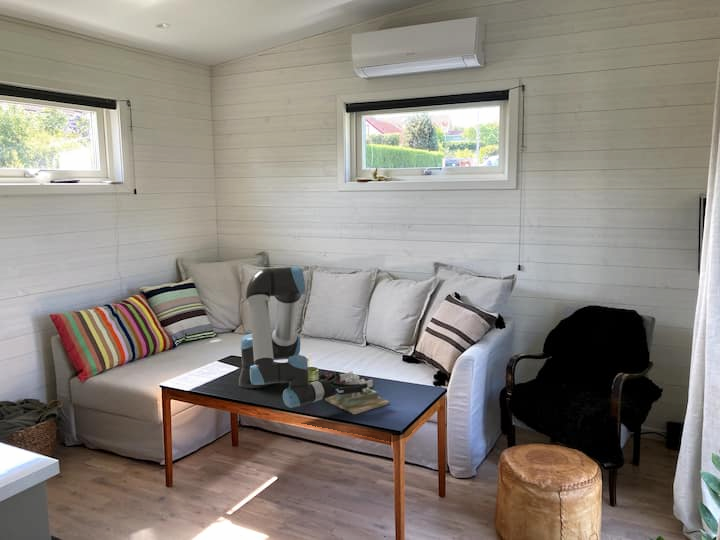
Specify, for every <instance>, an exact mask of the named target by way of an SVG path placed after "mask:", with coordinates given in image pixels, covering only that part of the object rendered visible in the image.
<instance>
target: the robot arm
mask: <svg viewBox="0 0 720 540" xmlns="http://www.w3.org/2000/svg"><path fill="white" fill-rule="evenodd" d="M305 280H306V279H305V275H304V271H303V269H302V267H299V266H287V267H285V266H284V267H271V268H270V267H267V268H262V269H260V270H258V271H257V272H256V273H255V274H254V275H253V276H252V277H251V279H249V282H248V284H247V287H246V291H245V300H246V303H247V304H248V305H249V315H250V316H249V318H250V319H249V320H250V329H251V333H247V334H246V335H244V336H243V337H242V338H241V339H240V351H241V371H240V375H239V376H238V377H239V378H238V386H239V387H241V388H243V389H248V388H249V389H250V388H251V389H252V390H253V388H254V389H255V388H256V389H263V388H266V387H268V385H269V386H270V385H272V384H277V383H278V384H279V383H280V384H281V383H288V387H287V388H285V389H284V390H283V392H282V400H283V402H284V405H285V406H287V408H296V407H301V406H304V405H307V404H311V403H316V402H317V401H321V400H326V398H329V397H331V396H333V394H334V393H335V394H337V393H338V394H339V395H341V394H348V393H361V392H362V389H365V388H369V389H370V388H373V379H368V380H369V381H365V382H361V383H359V384H344V383H338V381H339V380H340V381H344V380H346V378H348V377H349V378H350V379H351V377H352V376H351V375H349V373H353V374H354V372H353V371H349V373H348V372H346V373H341V374H339V372H336V373H334V374H332V375H331V376H329V377H327V378H326V379H323V380H320V379H319V380H316V381H312V382H309V370H308V369H309V367H308V358H307V357H306V355H305V356H304V355H302V354H300V352H301V336H300V335H299V333H298V332H296V317H297V306H298V302H299V301H300V299H301V297H302V295H305V294H306V293H307V289H306V288H307V287H306V281H305ZM271 297H274V298H275V300H276V313H275V314H276V316H275V329H274V330H273V331H272V329H271V320H270V308H269V302H270V301H271ZM283 360H287V361H286V362H277V363H275V361H283ZM341 385H342V387H341ZM262 387H263V388H262ZM251 389H250V390H251ZM256 389H255V390H256Z"/></svg>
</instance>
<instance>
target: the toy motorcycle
mask: <svg viewBox="0 0 720 540" xmlns="http://www.w3.org/2000/svg"><path fill="white" fill-rule="evenodd" d="M332 374H335V373H333V372H331V371H329V372H323V373H322V374H320V376H319V380H323V379H326V378H327V377H329V376H331V375H332ZM362 378H363V379H364V380H365V381H369V380H370V379H368V378H367V377H363V376H359V380H360V381H361V380H362ZM338 383H344V384H347V383H350V382H345V380H344V381H340V380H339V381H338ZM341 387H342V385H341Z"/></svg>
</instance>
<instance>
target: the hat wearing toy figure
mask: <svg viewBox="0 0 720 540" xmlns="http://www.w3.org/2000/svg"><path fill="white" fill-rule="evenodd" d="M349 372H350V371H349ZM349 372H348V371H347V373H349ZM349 375H351V376H352V377H351V379H350V378H349V377H348V378H346V380H345V382H350V383H347V384H359V383H361V382H365V380H364V379H363V378H362V380H361V381H360V380H359V377H360V376H359V375H358V374H356V373H355V374H354V372H353V373H349ZM362 391H364V392H365V389H362ZM356 394H357V397H360V393H356ZM353 398H355V393H352V398H351V399H353Z"/></svg>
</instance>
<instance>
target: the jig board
mask: <svg viewBox="0 0 720 540" xmlns="http://www.w3.org/2000/svg"><path fill="white" fill-rule="evenodd" d="M351 398H352V393H348V394H341V395H339V394H338V392H337V393H335V394H334V395H331V397H329V398H326V399H325V401H326V402H327V403H329V404H332V405H333V406H335V407H337V408H339V409H342V410H343V409H344V411H345V410H346V412H347V411H348V413H349V412H350V413H349V414H351V413H352V415H353V414H354V415H357V414H360V413H364V412H367V411H370V410H373V409H376V408H380V407H383V406H387V405H388V404H389V400H387V399H385V398H381V397H379V392H378V391H376V390H373V389H372V388H370V387H369V388H365V392H364V391H362V392H361V393H360V397H357V394H356V393H355V398H353V399H351Z"/></svg>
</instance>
